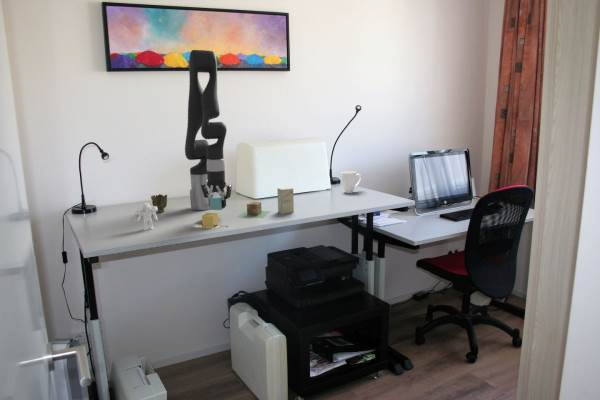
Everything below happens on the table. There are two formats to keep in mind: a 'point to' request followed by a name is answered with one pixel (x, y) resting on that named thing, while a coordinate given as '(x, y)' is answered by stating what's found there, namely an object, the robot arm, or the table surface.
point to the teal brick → (215, 203)
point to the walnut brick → (254, 208)
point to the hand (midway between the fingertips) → (217, 207)
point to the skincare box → (285, 200)
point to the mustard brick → (210, 220)
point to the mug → (349, 180)
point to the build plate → (254, 215)
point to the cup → (159, 202)
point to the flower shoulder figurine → (147, 214)
